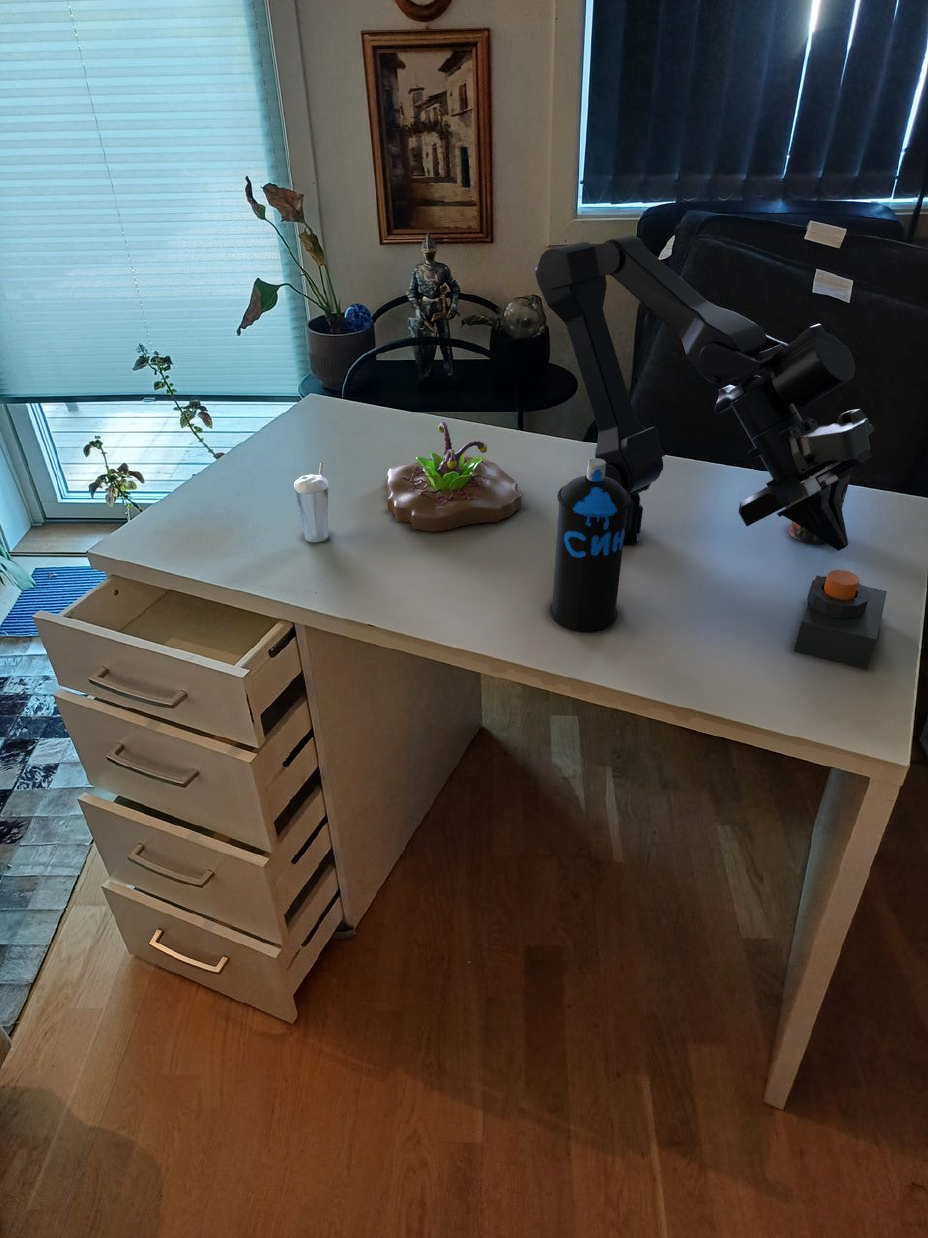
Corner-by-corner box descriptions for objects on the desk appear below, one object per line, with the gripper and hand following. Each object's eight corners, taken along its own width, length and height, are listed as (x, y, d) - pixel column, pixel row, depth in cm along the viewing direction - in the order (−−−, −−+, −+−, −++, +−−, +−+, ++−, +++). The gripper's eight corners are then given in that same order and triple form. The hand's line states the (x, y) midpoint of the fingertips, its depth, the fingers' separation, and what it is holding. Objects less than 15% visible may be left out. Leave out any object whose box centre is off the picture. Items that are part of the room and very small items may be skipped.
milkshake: (342, 530, 127) (336, 465, 121) (321, 548, 123) (315, 481, 117) (314, 524, 128) (308, 459, 123) (293, 541, 124) (285, 474, 119)
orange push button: (852, 604, 101) (857, 588, 100) (821, 596, 102) (825, 580, 101) (856, 589, 104) (861, 573, 103) (825, 582, 105) (829, 566, 104)
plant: (491, 462, 145) (492, 396, 139) (536, 517, 130) (539, 444, 124) (370, 479, 140) (365, 410, 134) (402, 538, 125) (398, 463, 119)
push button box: (867, 670, 100) (881, 626, 97) (792, 650, 103) (803, 607, 100) (877, 620, 108) (891, 577, 105) (807, 603, 111) (818, 561, 108)
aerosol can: (544, 596, 113) (553, 447, 101) (609, 593, 113) (625, 445, 102) (555, 634, 106) (566, 479, 95) (624, 631, 107) (643, 476, 95)
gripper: (785, 413, 89) (863, 550, 89) (875, 370, 100) (946, 493, 99) (706, 462, 98) (776, 587, 98) (796, 418, 109) (861, 531, 108)
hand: (843, 548), depth 101 cm, fingers closed
